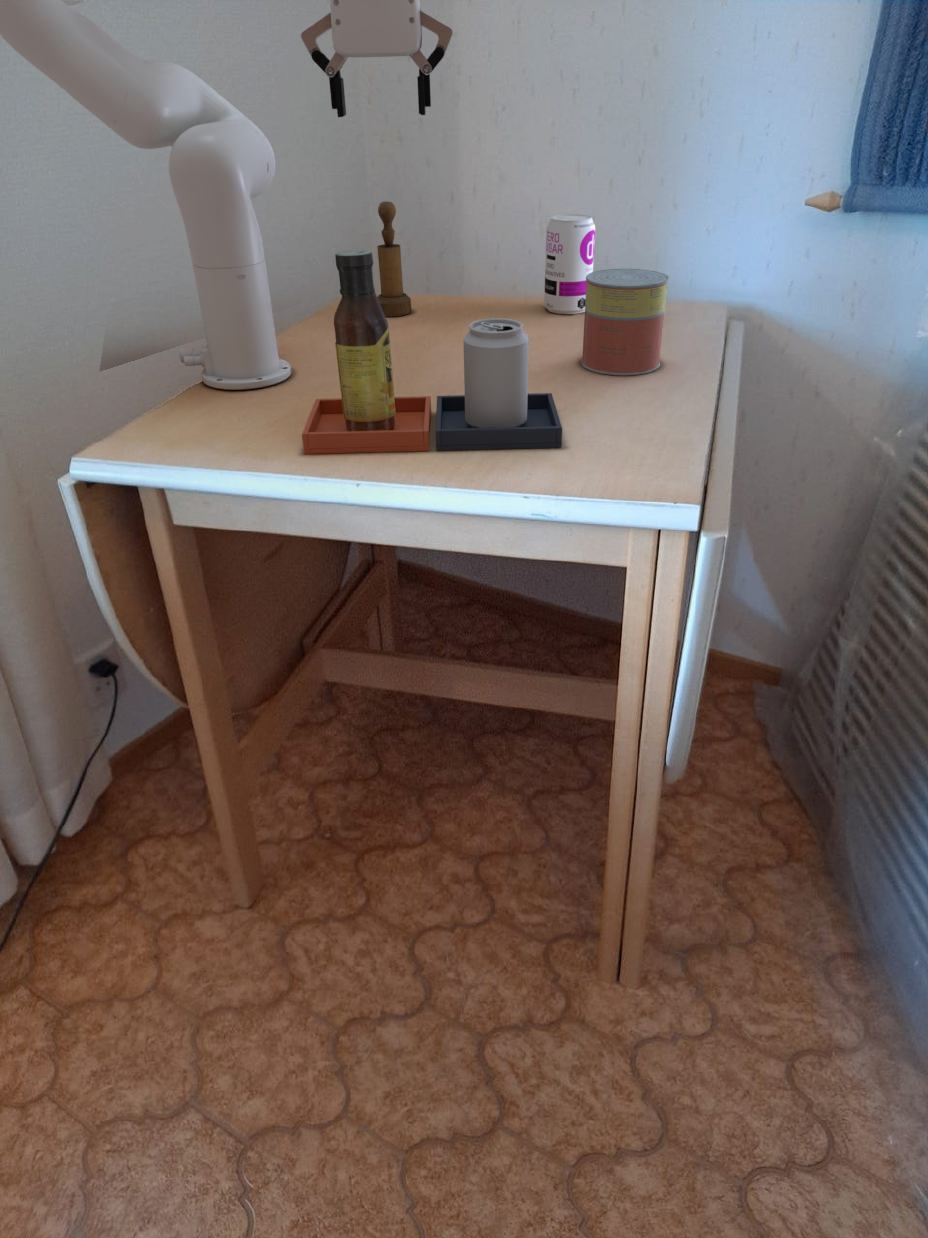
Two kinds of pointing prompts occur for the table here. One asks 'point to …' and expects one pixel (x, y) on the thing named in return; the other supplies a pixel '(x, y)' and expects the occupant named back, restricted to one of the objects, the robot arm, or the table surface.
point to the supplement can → (568, 262)
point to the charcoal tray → (533, 433)
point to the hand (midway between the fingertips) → (382, 115)
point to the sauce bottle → (363, 347)
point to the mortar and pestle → (391, 267)
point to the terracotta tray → (333, 437)
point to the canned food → (624, 321)
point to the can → (496, 373)
